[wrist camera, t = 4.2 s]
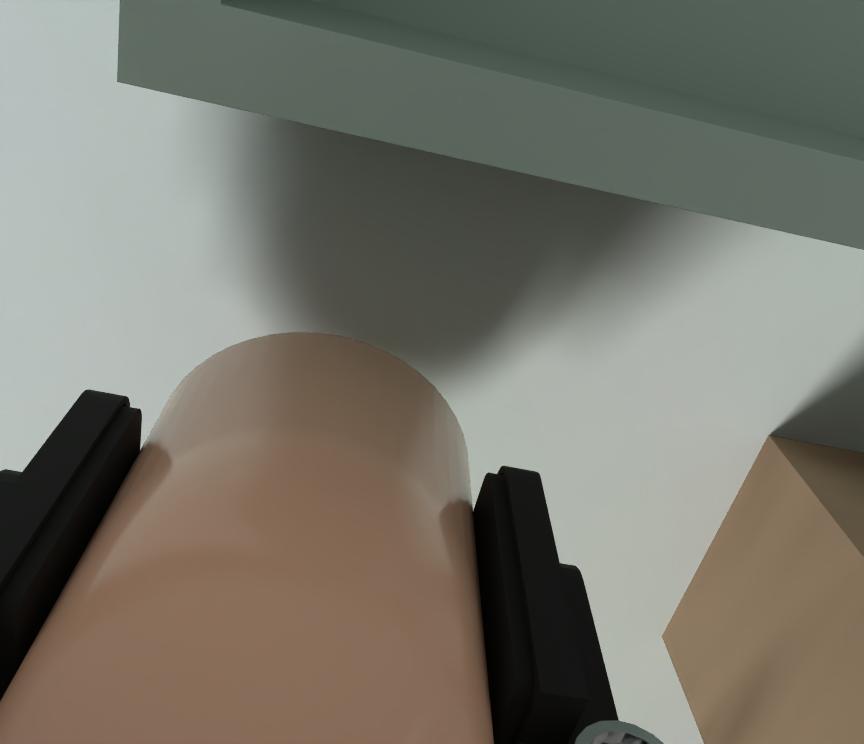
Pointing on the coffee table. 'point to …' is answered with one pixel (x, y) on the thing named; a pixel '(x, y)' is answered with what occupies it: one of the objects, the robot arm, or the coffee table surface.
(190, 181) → the coffee table surface
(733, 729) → the walnut block
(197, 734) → the terracotta cylinder
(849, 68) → the tote
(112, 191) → the coffee table surface
